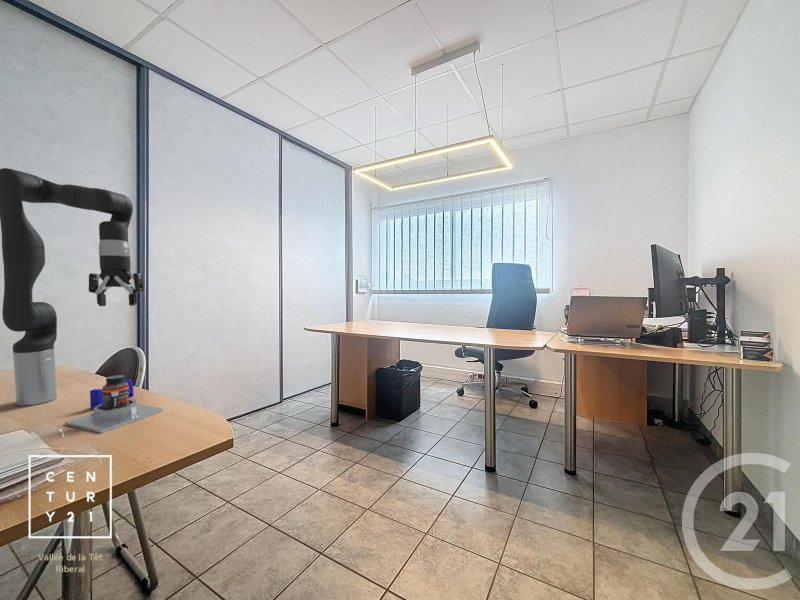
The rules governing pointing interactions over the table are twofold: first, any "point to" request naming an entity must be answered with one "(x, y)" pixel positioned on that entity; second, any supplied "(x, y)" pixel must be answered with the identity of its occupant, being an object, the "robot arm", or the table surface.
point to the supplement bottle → (115, 392)
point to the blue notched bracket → (98, 399)
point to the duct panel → (114, 423)
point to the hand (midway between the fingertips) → (117, 305)
